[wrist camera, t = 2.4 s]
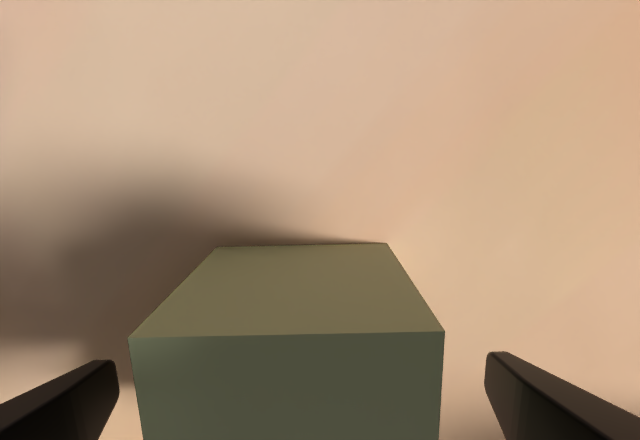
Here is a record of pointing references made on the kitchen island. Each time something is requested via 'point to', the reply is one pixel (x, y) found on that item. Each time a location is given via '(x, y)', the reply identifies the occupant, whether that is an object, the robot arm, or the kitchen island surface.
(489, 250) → the kitchen island surface
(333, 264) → the olive cube
